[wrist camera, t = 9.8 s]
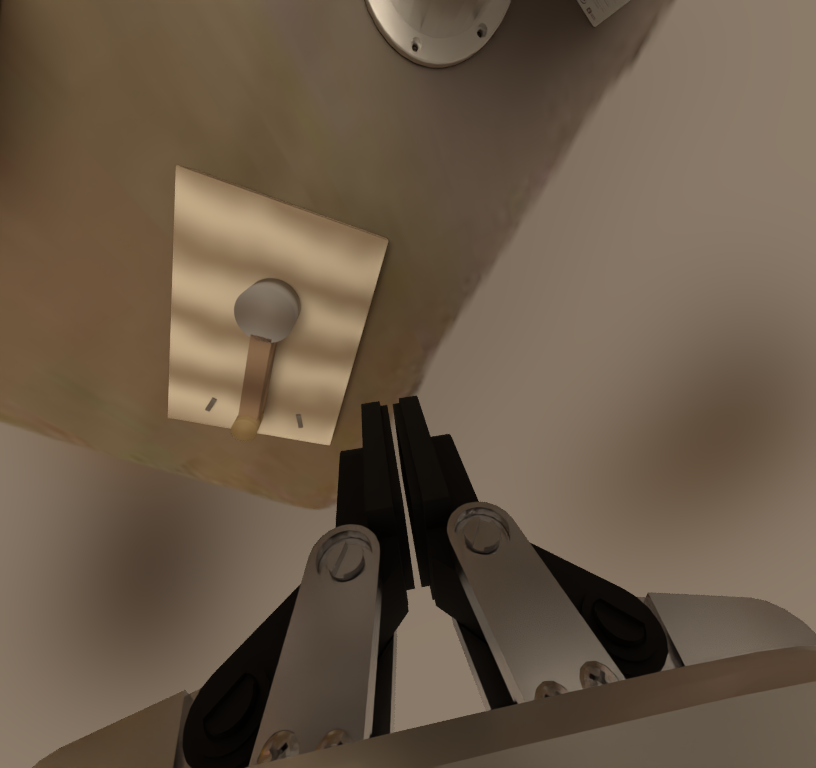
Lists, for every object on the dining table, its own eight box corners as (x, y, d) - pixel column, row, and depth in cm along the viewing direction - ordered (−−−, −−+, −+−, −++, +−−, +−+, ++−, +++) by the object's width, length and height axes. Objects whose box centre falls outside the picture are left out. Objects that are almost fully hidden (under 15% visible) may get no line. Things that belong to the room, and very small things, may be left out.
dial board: (191, 168, 29) (174, 164, 27) (386, 237, 34) (388, 240, 32) (180, 403, 40) (166, 418, 37) (331, 431, 44) (329, 446, 42)
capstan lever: (250, 270, 31) (233, 281, 27) (305, 287, 32) (297, 300, 28) (229, 422, 38) (213, 450, 34) (275, 430, 39) (265, 458, 35)
